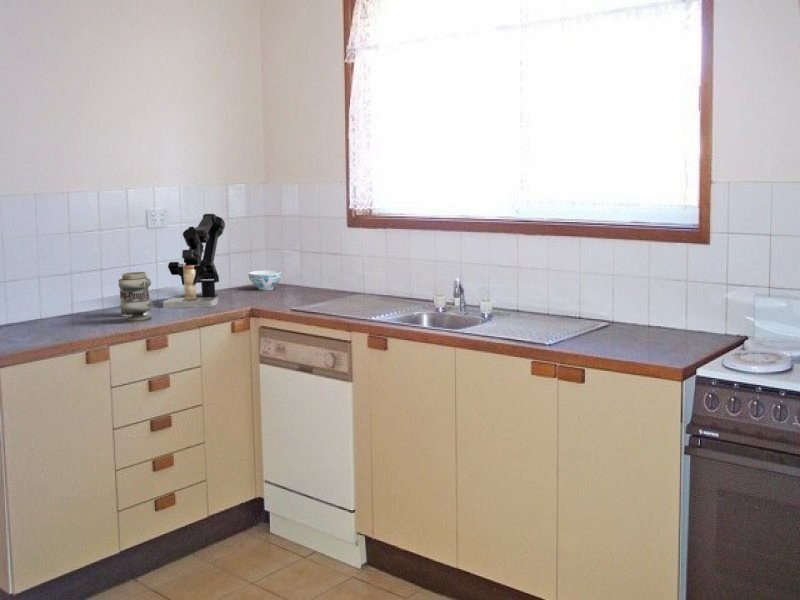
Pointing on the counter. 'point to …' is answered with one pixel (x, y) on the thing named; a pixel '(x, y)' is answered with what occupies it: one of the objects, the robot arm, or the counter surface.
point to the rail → (190, 302)
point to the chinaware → (265, 278)
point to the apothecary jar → (136, 296)
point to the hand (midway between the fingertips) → (188, 284)
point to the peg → (189, 283)
